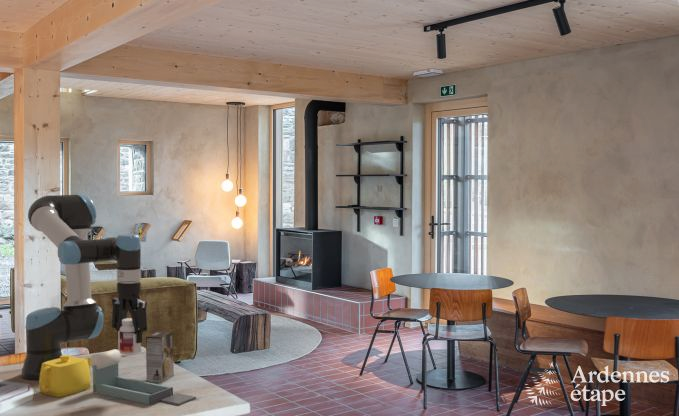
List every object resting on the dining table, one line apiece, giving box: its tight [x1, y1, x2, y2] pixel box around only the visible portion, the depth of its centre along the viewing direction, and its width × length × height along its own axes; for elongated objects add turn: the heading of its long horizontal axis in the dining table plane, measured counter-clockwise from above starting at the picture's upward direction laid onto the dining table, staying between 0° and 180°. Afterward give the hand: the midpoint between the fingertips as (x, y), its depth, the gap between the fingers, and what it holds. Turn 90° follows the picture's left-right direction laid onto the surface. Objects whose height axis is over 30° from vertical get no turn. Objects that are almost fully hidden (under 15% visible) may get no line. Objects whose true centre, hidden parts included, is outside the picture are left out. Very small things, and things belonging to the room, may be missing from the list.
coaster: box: [160, 392, 197, 406], centre depth 235 cm, size 8×8×1 cm
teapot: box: [38, 354, 92, 398], centre depth 246 cm, size 20×12×12 cm, turn 147°
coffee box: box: [145, 330, 175, 383], centre depth 259 cm, size 9×6×16 cm
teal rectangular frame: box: [90, 348, 174, 406], centre depth 241 cm, size 28×10×12 cm, turn 60°
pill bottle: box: [119, 317, 139, 355], centre depth 241 cm, size 6×6×11 cm
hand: (129, 351), depth 241 cm, fingers closed on pill bottle, 6 cm apart
